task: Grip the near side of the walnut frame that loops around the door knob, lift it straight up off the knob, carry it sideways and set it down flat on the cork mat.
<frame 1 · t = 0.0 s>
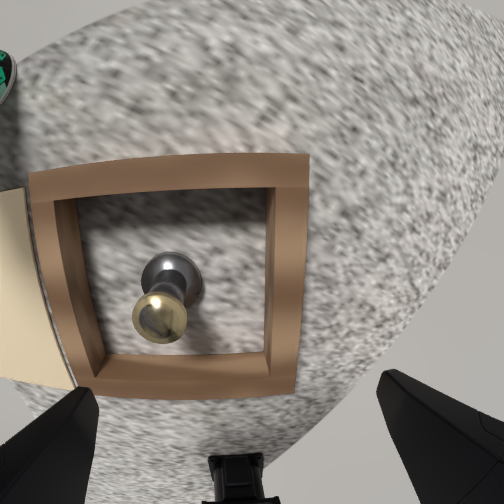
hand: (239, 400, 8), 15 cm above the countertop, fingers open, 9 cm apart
walnut frame: (171, 279, 22), on the countertop
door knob: (171, 280, 22), on the countertop
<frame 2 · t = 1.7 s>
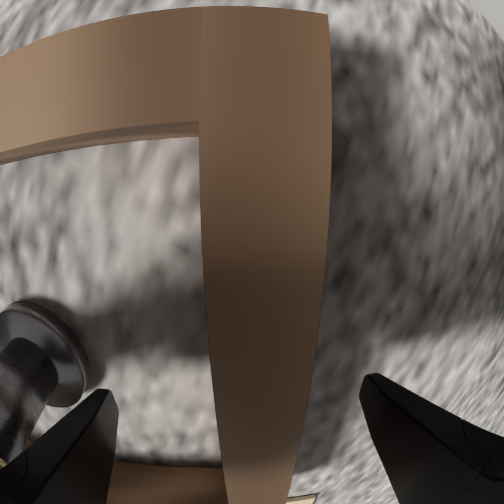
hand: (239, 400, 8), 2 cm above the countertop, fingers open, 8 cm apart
walnut frame: (40, 352, 9), on the countertop
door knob: (40, 352, 9), on the countertop
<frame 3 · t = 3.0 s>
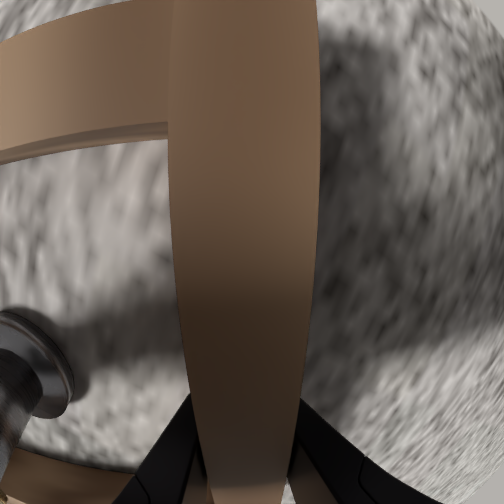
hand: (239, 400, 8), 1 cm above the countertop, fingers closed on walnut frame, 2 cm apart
walnut frame: (25, 363, 8), on the countertop, touching gripper
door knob: (25, 363, 8), on the countertop
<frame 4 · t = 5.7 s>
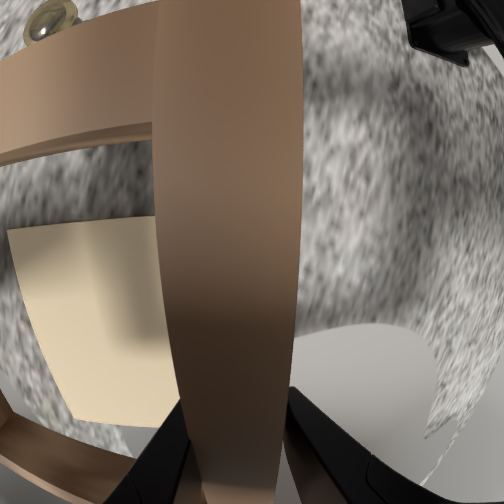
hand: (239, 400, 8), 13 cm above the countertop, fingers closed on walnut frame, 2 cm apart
walnut frame: (49, 343, 10), point 10 cm above the countertop, tilted 10°, touching gripper
cork mat: (140, 345, 22), on the countertop
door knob: (88, 50, 14), on the countertop
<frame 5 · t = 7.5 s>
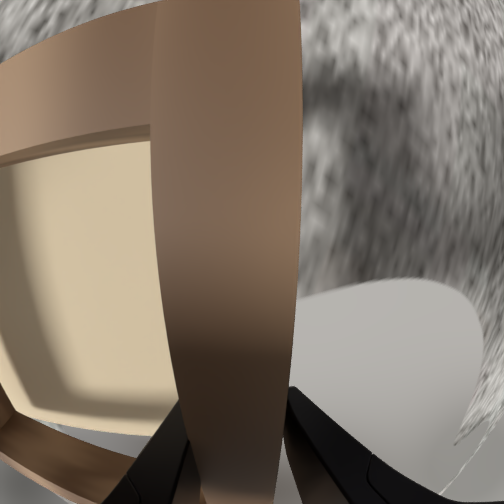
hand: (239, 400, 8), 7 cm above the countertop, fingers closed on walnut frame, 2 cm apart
walnut frame: (51, 343, 10), point 4 cm above the countertop, tilted 12°, touching gripper
cork mat: (72, 302, 13), on the countertop
when the fingers open (2 cm above the countertop, at t = 8.8 s): walnut frame stays where it is, resting on cork mat.
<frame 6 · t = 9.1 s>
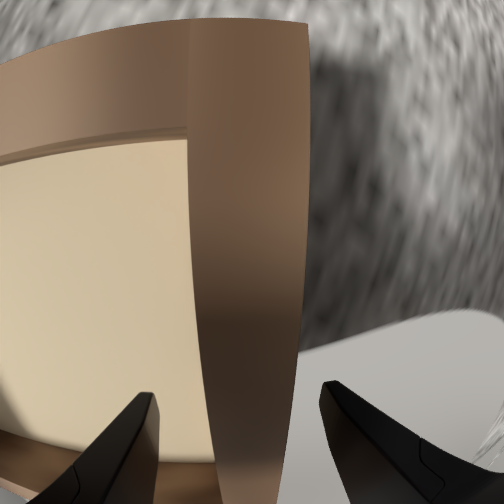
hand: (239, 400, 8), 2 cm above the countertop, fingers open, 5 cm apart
walnut frame: (37, 349, 9), resting on cork mat
cork mat: (37, 345, 9), on the countertop
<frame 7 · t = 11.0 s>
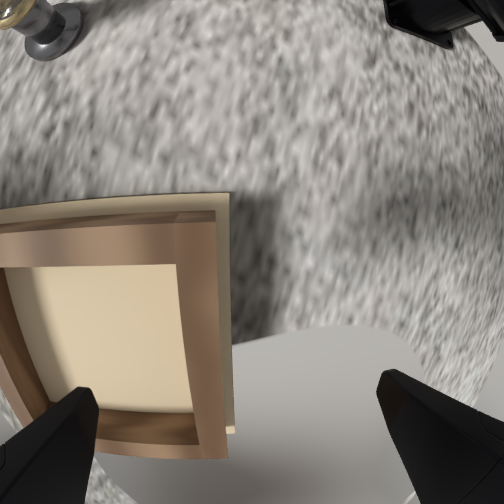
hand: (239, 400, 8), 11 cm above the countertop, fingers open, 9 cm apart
walnut frame: (95, 342, 19), resting on cork mat
cork mat: (95, 340, 19), on the countertop
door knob: (55, 33, 12), on the countertop
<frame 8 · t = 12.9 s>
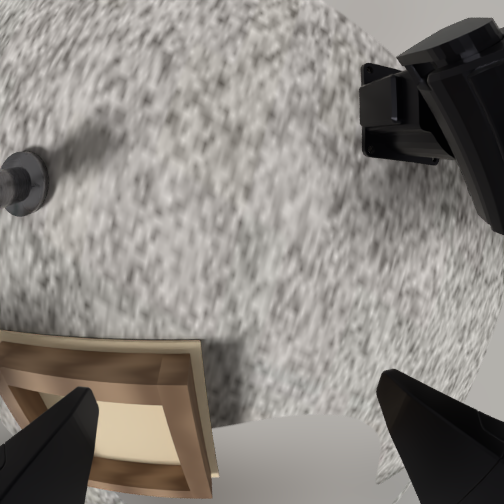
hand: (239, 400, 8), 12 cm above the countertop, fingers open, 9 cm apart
walnut frame: (109, 423, 23), resting on cork mat
cork mat: (108, 421, 23), on the countertop
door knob: (24, 183, 16), on the countertop
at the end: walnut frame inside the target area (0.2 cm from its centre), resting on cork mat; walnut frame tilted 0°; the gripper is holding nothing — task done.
